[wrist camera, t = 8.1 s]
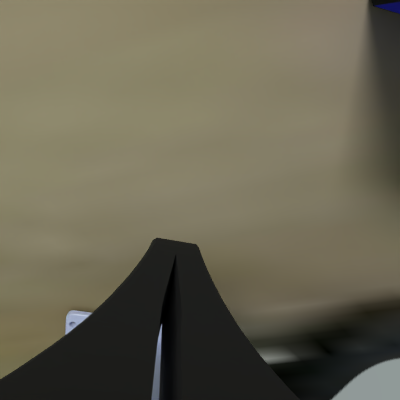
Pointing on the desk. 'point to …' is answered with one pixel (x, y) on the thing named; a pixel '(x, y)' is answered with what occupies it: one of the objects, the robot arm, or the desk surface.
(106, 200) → the desk surface
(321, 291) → the desk surface
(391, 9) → the puzzle cube
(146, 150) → the desk surface
